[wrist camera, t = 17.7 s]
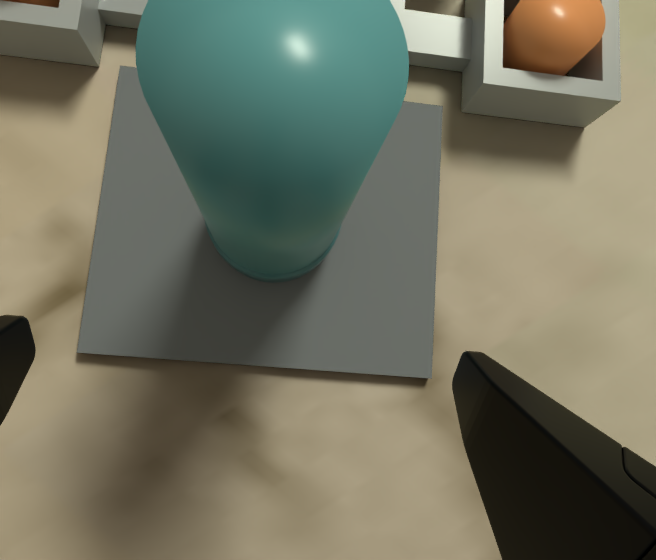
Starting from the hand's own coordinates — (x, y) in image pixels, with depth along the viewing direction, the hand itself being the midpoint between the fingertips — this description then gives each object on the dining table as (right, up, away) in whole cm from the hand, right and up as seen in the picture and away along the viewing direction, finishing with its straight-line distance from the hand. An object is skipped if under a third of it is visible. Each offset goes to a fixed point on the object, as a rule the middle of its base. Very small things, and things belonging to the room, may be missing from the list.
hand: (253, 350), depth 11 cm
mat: (-1, +4, +11) cm, 12 cm away
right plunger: (+11, +12, +13) cm, 21 cm away
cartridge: (-1, +4, +10) cm, 11 cm away
